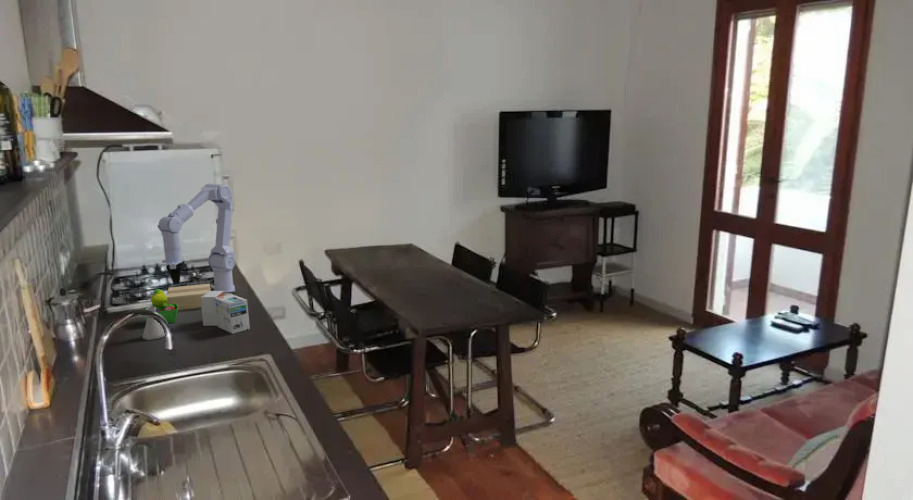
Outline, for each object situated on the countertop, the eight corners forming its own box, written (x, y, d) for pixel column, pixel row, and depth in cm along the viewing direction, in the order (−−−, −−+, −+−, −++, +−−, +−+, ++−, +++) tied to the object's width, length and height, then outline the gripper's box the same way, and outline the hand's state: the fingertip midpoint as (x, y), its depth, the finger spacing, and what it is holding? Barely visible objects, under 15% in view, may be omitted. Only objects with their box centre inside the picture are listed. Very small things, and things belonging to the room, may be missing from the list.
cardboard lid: (169, 289, 251) (168, 287, 251) (210, 285, 256) (209, 283, 256) (166, 299, 238) (165, 297, 238) (209, 294, 243) (209, 292, 243)
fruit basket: (144, 327, 222) (140, 296, 220) (144, 320, 230) (140, 289, 228) (179, 322, 227) (176, 292, 225) (179, 315, 235) (175, 285, 232)
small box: (218, 326, 223) (216, 297, 221) (203, 326, 223) (199, 297, 221) (227, 318, 231) (224, 290, 229) (212, 318, 231) (209, 290, 229)
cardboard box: (170, 301, 252) (169, 289, 251) (211, 297, 257) (210, 285, 256) (167, 311, 239) (166, 299, 238) (210, 307, 244) (209, 294, 243)
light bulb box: (250, 329, 220) (247, 299, 217) (232, 334, 215) (229, 303, 212) (234, 322, 227) (232, 293, 224) (216, 327, 222) (213, 297, 220)
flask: (161, 331, 219) (157, 303, 216) (169, 336, 214) (166, 307, 211) (139, 336, 214) (135, 308, 211) (147, 342, 209) (143, 312, 206)
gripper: (162, 245, 247) (166, 279, 250) (159, 253, 234) (163, 289, 237) (182, 243, 249) (186, 277, 252) (180, 251, 236) (184, 287, 239)
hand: (176, 283), depth 245 cm, fingers closed
